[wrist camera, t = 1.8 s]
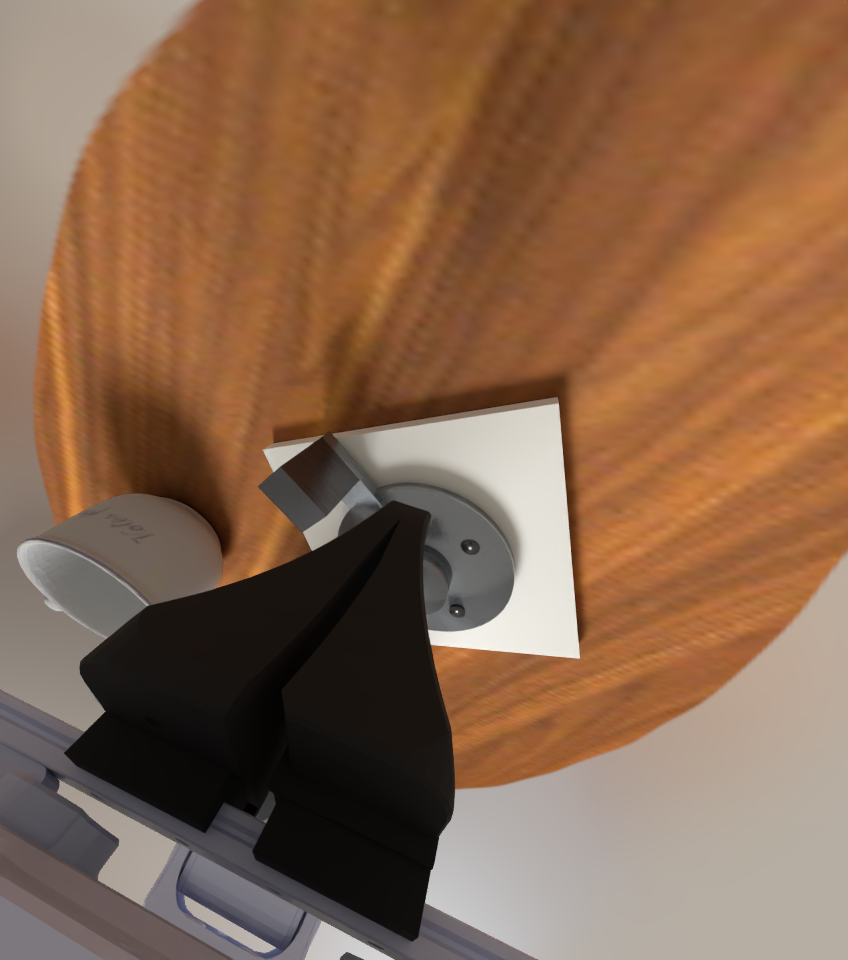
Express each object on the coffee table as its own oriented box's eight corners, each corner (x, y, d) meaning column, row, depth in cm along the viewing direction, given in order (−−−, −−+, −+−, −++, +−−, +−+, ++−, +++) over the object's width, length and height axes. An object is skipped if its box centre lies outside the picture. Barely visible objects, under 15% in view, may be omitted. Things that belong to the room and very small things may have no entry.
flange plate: (552, 595, 20) (555, 664, 16) (414, 636, 25) (394, 694, 22) (386, 382, 16) (343, 410, 13) (268, 484, 22) (216, 523, 18)
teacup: (205, 473, 25) (85, 541, 18) (265, 582, 30) (186, 669, 23) (90, 481, 30) (-39, 538, 23) (157, 575, 35) (66, 645, 28)
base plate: (578, 644, 23) (584, 706, 20) (359, 627, 29) (336, 672, 26) (557, 396, 16) (562, 427, 12) (273, 443, 22) (225, 472, 19)
